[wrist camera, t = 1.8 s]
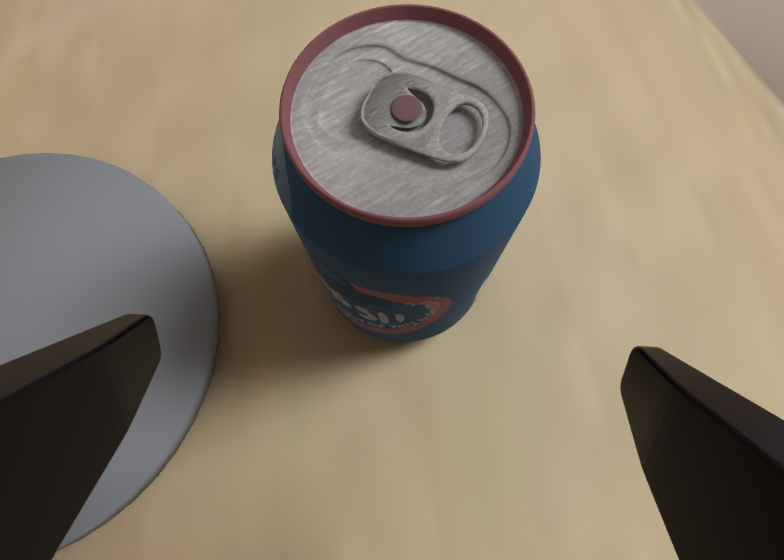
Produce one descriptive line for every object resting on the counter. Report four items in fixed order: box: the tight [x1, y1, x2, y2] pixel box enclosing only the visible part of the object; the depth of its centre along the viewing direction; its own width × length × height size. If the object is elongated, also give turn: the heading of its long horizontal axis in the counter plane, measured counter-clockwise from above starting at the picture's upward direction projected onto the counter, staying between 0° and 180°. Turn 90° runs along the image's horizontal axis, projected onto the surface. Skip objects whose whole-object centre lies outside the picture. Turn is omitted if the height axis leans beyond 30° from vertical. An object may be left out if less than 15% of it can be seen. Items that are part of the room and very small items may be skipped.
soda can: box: [272, 4, 541, 342], centre depth 16 cm, size 7×7×12 cm
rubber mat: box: [0, 153, 220, 551], centre depth 21 cm, size 18×18×1 cm
